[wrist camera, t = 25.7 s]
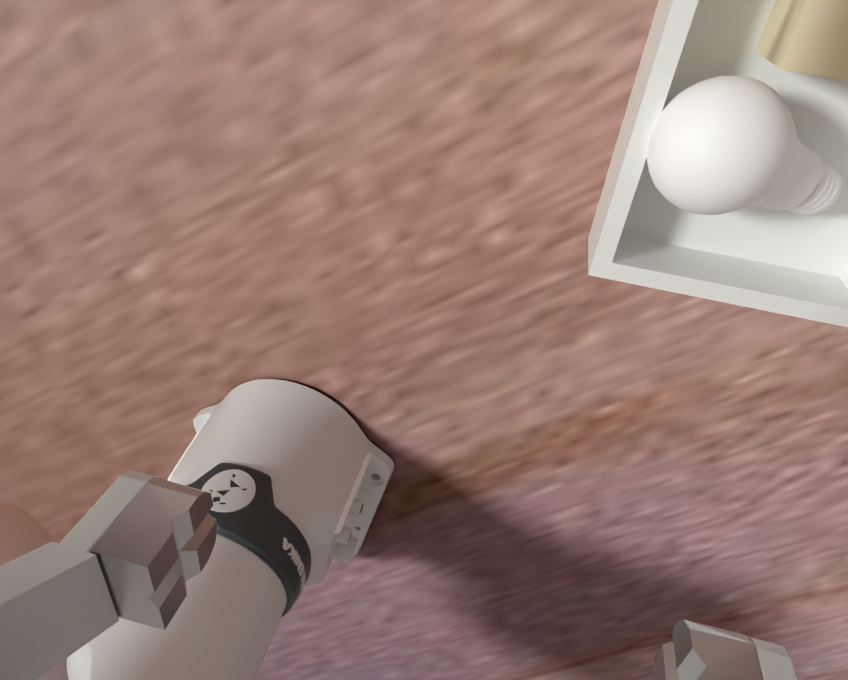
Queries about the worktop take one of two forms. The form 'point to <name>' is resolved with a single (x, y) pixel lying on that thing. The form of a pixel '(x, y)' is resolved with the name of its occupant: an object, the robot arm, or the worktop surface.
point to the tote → (739, 230)
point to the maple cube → (807, 37)
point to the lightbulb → (736, 152)
